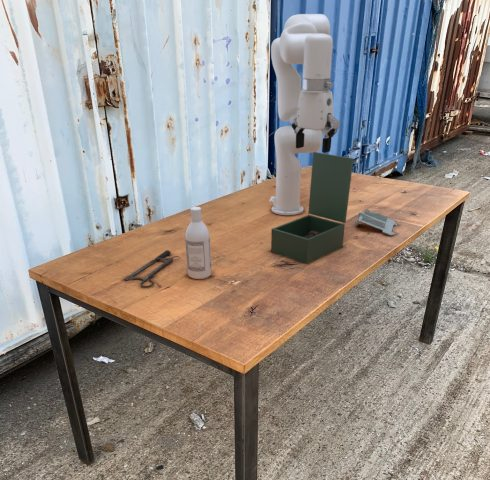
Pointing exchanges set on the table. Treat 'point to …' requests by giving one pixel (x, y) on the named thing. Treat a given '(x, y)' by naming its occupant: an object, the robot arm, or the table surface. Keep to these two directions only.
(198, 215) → the bath foam
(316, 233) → the bolt
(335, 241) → the parts chest
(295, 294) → the table surface
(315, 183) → the chest lid
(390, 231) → the metal bracket
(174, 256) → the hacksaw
